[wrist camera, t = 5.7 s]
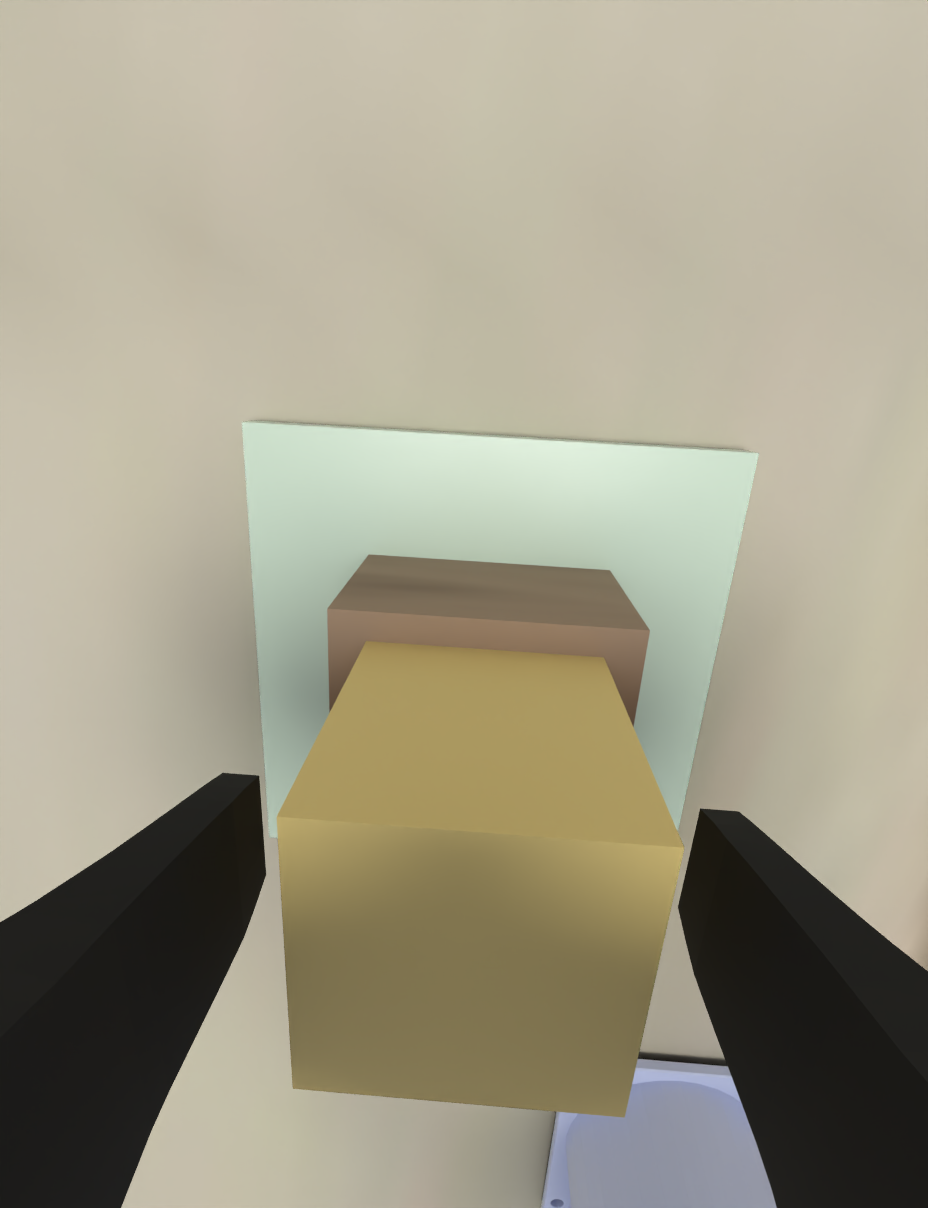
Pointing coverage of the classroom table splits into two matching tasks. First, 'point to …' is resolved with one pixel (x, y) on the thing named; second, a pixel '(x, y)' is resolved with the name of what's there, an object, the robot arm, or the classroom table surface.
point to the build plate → (489, 554)
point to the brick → (475, 883)
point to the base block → (488, 614)
